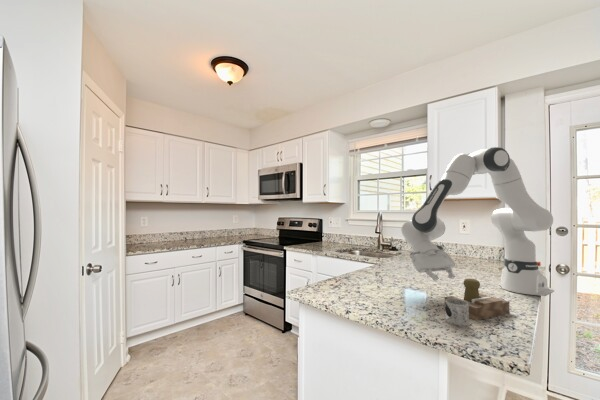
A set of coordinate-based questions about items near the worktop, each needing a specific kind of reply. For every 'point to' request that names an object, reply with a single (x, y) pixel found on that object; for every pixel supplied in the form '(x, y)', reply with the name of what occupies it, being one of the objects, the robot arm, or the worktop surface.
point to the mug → (457, 312)
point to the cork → (471, 289)
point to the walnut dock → (486, 307)
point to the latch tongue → (479, 299)
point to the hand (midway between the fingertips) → (444, 278)
